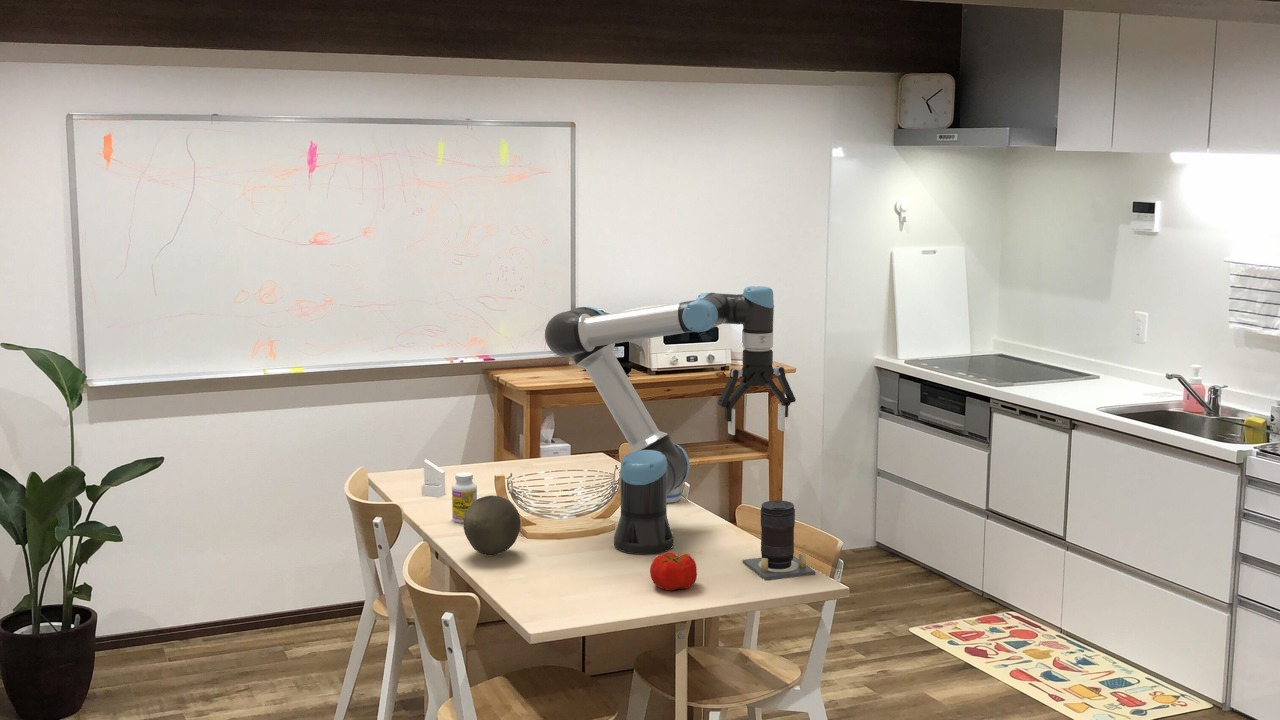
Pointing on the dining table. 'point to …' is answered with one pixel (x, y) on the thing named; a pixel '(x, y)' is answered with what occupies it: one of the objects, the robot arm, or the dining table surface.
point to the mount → (766, 573)
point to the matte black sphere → (491, 525)
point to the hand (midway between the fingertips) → (756, 432)
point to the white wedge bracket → (433, 480)
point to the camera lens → (777, 533)
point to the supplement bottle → (462, 495)
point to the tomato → (673, 571)
